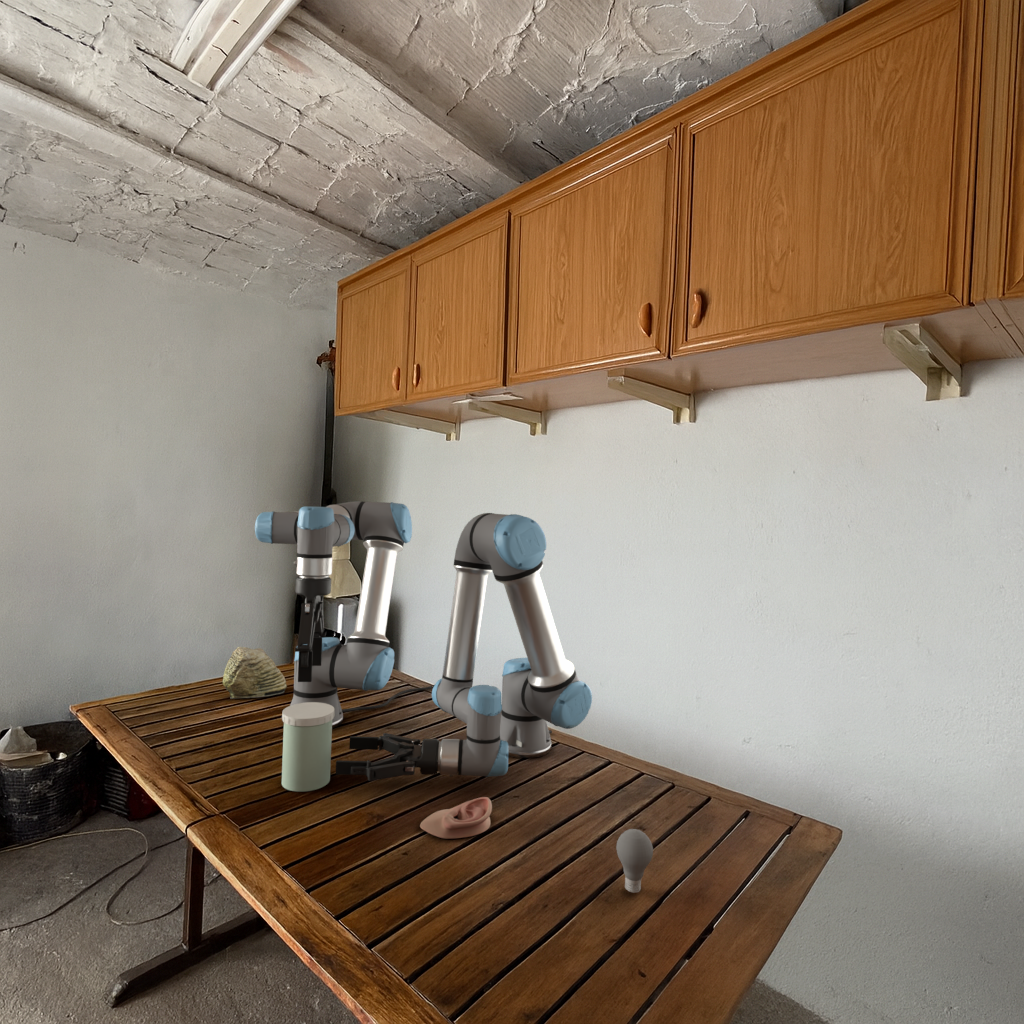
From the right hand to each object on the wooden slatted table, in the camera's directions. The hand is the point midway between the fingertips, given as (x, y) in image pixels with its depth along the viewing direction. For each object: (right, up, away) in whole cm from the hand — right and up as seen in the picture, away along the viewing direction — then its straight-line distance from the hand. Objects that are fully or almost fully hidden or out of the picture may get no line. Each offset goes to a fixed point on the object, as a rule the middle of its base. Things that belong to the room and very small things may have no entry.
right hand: (343, 754), depth 141 cm
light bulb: (+58, -10, -35) cm, 68 cm away
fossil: (-43, -3, +58) cm, 72 cm away
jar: (-8, -6, 0) cm, 10 cm away
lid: (-8, +10, 0) cm, 12 cm away
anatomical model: (+26, -8, -16) cm, 32 cm away
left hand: (-7, +18, 0) cm, 20 cm away
